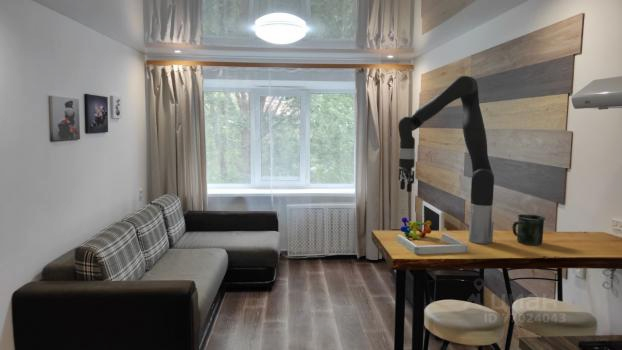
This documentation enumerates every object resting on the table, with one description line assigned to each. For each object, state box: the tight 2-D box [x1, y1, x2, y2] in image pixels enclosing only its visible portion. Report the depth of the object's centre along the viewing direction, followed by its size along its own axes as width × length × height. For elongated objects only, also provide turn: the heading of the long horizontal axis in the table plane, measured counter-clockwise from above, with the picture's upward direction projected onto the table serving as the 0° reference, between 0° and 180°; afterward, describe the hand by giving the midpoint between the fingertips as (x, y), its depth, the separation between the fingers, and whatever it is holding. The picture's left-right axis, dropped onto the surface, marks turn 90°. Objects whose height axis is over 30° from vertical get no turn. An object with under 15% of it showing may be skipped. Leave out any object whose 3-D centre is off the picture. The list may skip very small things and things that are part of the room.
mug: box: [511, 213, 546, 246], centre depth 196 cm, size 11×15×12 cm
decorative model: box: [400, 216, 432, 240], centre depth 206 cm, size 13×9×15 cm
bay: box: [396, 232, 469, 255], centre depth 189 cm, size 23×20×3 cm
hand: (405, 190), depth 216 cm, fingers open, 8 cm apart
